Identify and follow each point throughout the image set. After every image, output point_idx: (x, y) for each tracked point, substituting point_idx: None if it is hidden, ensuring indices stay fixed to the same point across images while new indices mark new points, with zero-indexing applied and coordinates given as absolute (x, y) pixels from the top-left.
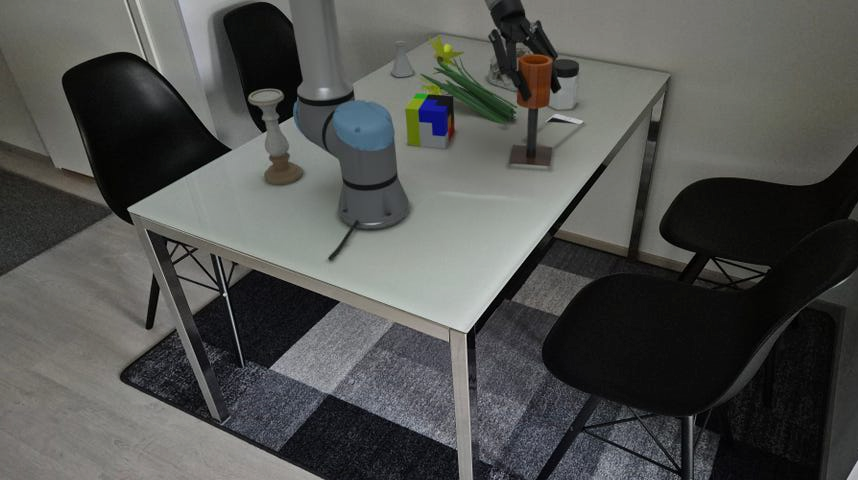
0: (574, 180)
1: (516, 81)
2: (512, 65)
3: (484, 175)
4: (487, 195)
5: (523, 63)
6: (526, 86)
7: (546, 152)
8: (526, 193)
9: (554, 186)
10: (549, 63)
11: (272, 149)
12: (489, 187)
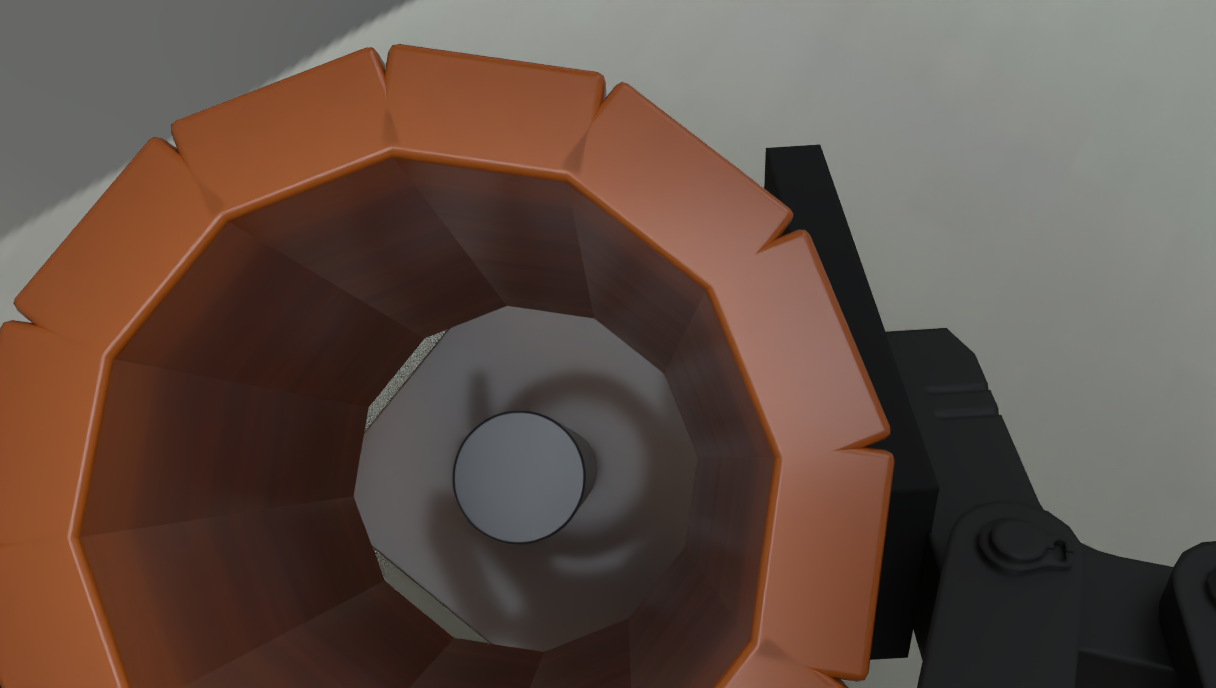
0: (454, 18)
1: (981, 381)
2: (1069, 613)
3: (1027, 431)
4: (1151, 158)
5: (869, 420)
6: (823, 246)
7: (411, 441)
8: (879, 40)
9: (639, 20)
10: (267, 92)
11: None
12: (1082, 250)
